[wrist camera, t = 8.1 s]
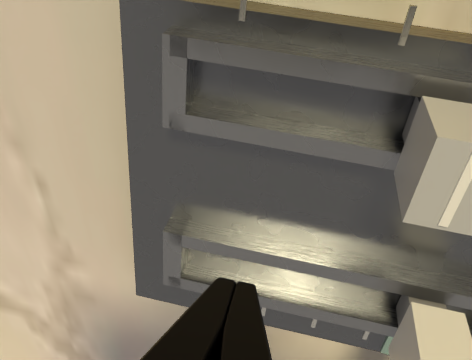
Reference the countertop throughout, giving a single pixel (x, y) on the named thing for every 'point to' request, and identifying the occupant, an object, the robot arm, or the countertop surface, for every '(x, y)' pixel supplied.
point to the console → (286, 161)
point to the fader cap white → (429, 332)
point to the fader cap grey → (437, 166)
